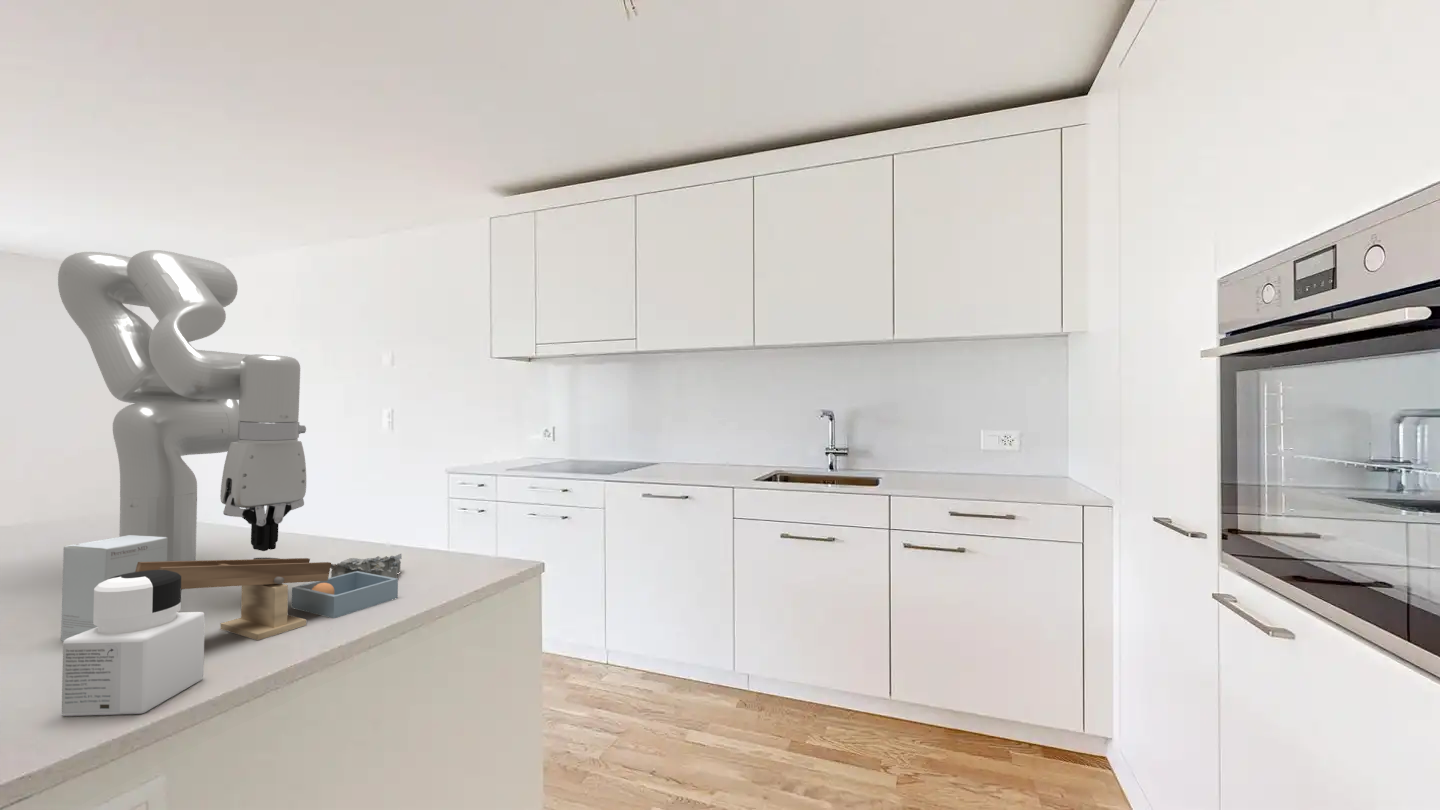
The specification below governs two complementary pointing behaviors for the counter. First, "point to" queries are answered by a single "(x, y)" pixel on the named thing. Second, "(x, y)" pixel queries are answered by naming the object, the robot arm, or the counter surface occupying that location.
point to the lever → (242, 571)
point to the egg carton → (369, 566)
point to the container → (133, 647)
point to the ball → (324, 588)
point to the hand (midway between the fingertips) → (264, 548)
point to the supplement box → (100, 573)
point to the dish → (345, 594)
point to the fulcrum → (263, 612)
